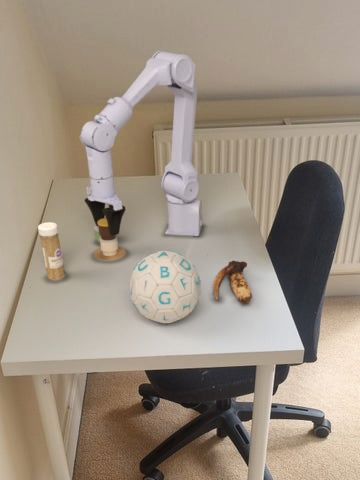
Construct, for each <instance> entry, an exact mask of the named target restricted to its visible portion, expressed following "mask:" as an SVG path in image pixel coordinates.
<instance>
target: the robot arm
mask: <svg viewBox="0 0 360 480" xmlns="http://www.w3.org/2000/svg"><path fill="white" fill-rule="evenodd" d="M196 69H197V68H196V64H195V62H194V61H193V60H192V59H191V58H190V56H189V55H188V54H183V53H181V54H179V53H174V52H169V51H165V50H157V51H155V53H154V54H153V55H152V56H151V57H150V58H149V59H148V60H147V61H146V64H145V67H144V69H143V70H142V71H141V72H140V73H139V75H138V77H136V79H135V80H134V81H133V83H132V84H131V85H130V86H129V88H127V90H126V91H125V93H123V95H122V96H121V97H120V96H114V97H112V98H111V97H110V98H109V99H108V100H107V105H105V107H104V108H103V109H102V110H101V111H100V112H99V113H98V114H96V115H95V116H94V117H93V118H94V119H93V120H90V121H87V122H86V123H85V124H84V125H82V128H81V133H80V135H79V140H80V142H81V144H82V145H83V146H84V148H85V153H86V157H87V166H88V174H89V182H90V186H86V194H87V197H86V198H84V203H85V204H86V206H87V207H88V209H89V211H90V213H91V216H92V218H93V221H94V224H95V225H96V226H97V227H98V224H97V222H98V220H100V219H103V218H106V219H107V222H108V227H109V231H110V234H111V235H112V236H113V235H116V236H118V235H119V234H120V231H121V224H122V220H123V216H124V214H125V212H126V206H125V205H123V201H122V200H120V198H119V196H118V194H117V192H116V190H115V180H114V179H115V178H114V169H113V160H112V148H113V147H114V144H115V141H116V137H117V135H118V134H119V132H120V131H121V130H122V129H123V128H124V127H125V126H126V124H127V123H128V122H129V121H130V120H131V119H132V118H133V111H134V110H133V109H134V108H135V107H137V105H138V104H139V103H141V102H142V101H143V100H144V99H145V98H146V97H147V96H148V95H149V94H150V93H151V92H152V91H153V90H154V89H155V88H156V87H163V86H166V87H167V88H168V89H169V90H170V91H171V93H172V94H173V95H174V104H173V119H172V121H173V122H172V137H171V155H170V162H168V163H167V164H166V165H165V167H164V173H163V176H162V178H161V184H160V186H161V189H162V192H164V194H165V197H166V199H167V221H168V222H167V223H168V225H167V229H166V230H165V235H183V236H185V235H187V236H192V237H199V236H200V233H201V231H202V229H203V202H202V200H201V199H198V198H197V197H198V195H199V193H200V183H199V179H198V177H199V173H198V171H197V169H196V168H195V165H194V164H193V162H192V161H193V150H194V137H195V127H196V114H197V113H196V112H197V100H198V84H197V79H196ZM106 205H107V206H108V207H106Z"/></svg>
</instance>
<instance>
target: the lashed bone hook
mask: <svg viewBox="0 0 360 480" xmlns="http://www.w3.org/2000/svg"><path fill="white" fill-rule="evenodd" d="M247 267H248V263H247V262H246V261H236V260H232V261H228V264H227V265H225V266H224V267H223V268H222V269H221V270H219V271H218V272H217V274H216V276H215V278H214V280H213V284H212V293H213V296H214V298H215V300H216V302H219V297H220V296H219V293H220V292H219V291H220V286H221V284H222V282H223V280H224V279H225V277H227V278H228V281H229V285H230V287H231V291H232V292H233V293H234V295H235V297H236V298H237V299H238V301H239V302H240V303H241V304H243V305H244V304H245V305H246V304H248V303H250V301H251V299H252V298H253V294H252V290H251V288H250V285H249V283H248V281H247V279H246V277H245V276H244V273H243V272H244V270H245V268H247Z"/></svg>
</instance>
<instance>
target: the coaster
mask: <svg viewBox="0 0 360 480" xmlns="http://www.w3.org/2000/svg"><path fill="white" fill-rule="evenodd" d="M126 254H127V251H126V249H125V248H123V247H121V246H118V249H117V254H116V255H113V256H105V255H103V251H102V250H101V248H98V249H97V250H95V252H94V253H93V255H94V257H95V258H96V259H99V260H102V261H114V260H119V259H121V258H123V257H124V256H125V255H126Z"/></svg>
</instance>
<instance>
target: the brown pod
mask: <svg viewBox="0 0 360 480" xmlns="http://www.w3.org/2000/svg"><path fill="white" fill-rule="evenodd" d="M97 224H98V229H99V235H101V239H102V240H113V239H115V237H116V236H117V235H116V236H115V235H113V236H112V235H111V234H110V231H109V227H108V222H107V219H106V217H105V218H103V219H100V220H98V222H97Z"/></svg>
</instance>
